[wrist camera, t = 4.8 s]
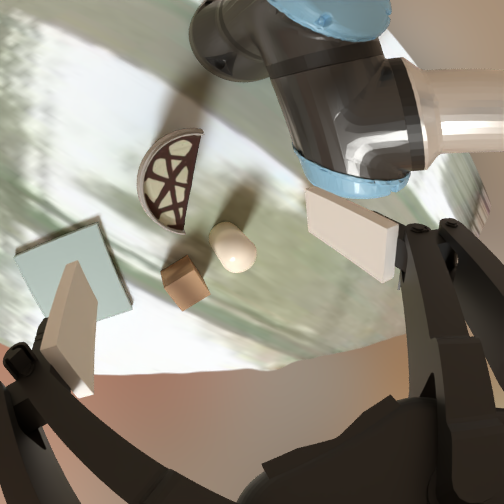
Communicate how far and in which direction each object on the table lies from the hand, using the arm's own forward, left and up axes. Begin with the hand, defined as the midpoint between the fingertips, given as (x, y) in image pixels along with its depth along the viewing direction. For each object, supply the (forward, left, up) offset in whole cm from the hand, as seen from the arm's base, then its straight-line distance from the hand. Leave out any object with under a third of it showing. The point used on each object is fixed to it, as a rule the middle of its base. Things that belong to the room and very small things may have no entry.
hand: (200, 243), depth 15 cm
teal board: (+18, +12, -27) cm, 34 cm away
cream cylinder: (-7, +13, -27) cm, 31 cm away
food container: (0, 0, -27) cm, 27 cm away
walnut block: (+1, +17, -27) cm, 32 cm away
